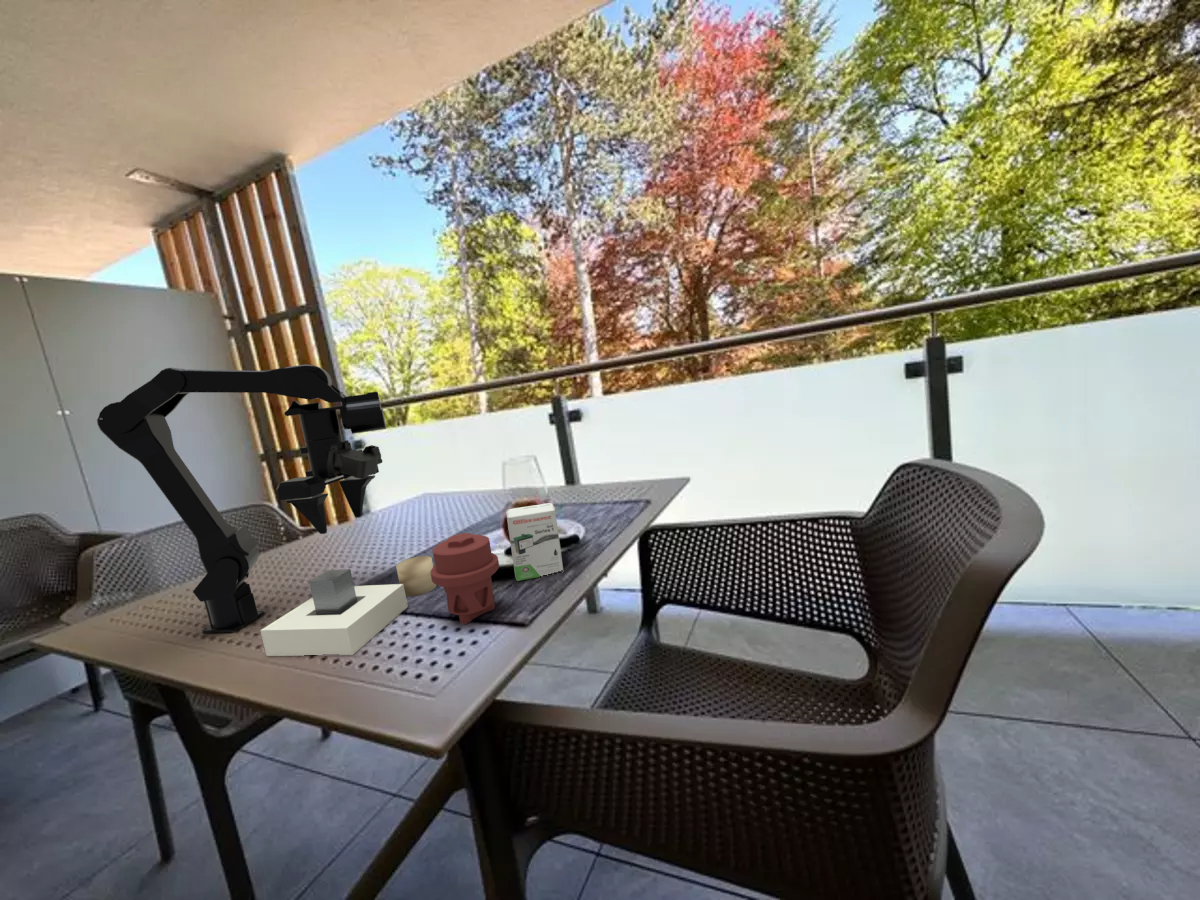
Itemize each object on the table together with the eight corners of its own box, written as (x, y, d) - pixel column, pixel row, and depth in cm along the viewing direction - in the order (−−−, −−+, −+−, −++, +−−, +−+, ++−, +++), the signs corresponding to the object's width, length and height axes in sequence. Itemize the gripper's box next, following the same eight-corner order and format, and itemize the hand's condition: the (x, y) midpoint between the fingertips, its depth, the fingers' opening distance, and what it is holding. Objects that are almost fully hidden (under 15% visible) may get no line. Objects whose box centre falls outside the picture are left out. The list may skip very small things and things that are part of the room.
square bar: (321, 637, 77) (309, 581, 76) (339, 623, 81) (327, 570, 80) (345, 636, 76) (332, 580, 75) (361, 623, 80) (350, 569, 79)
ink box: (516, 582, 89) (505, 516, 87) (514, 571, 93) (504, 509, 92) (564, 572, 90) (555, 508, 88) (561, 562, 95) (552, 501, 93)
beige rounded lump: (394, 597, 89) (389, 570, 88) (413, 582, 95) (408, 556, 94) (425, 596, 88) (420, 568, 87) (442, 581, 93) (437, 555, 93)
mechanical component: (515, 597, 82) (490, 630, 73) (458, 599, 84) (427, 630, 75) (503, 524, 80) (476, 547, 71) (445, 528, 82) (411, 551, 73)
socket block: (266, 656, 73) (260, 630, 73) (333, 609, 87) (328, 587, 86) (352, 655, 70) (346, 628, 70) (407, 606, 84) (403, 583, 83)
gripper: (326, 442, 77) (347, 540, 80) (395, 426, 95) (411, 506, 98) (264, 449, 80) (286, 544, 82) (343, 432, 98) (360, 510, 100)
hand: (341, 524), depth 91 cm, fingers open, 9 cm apart
